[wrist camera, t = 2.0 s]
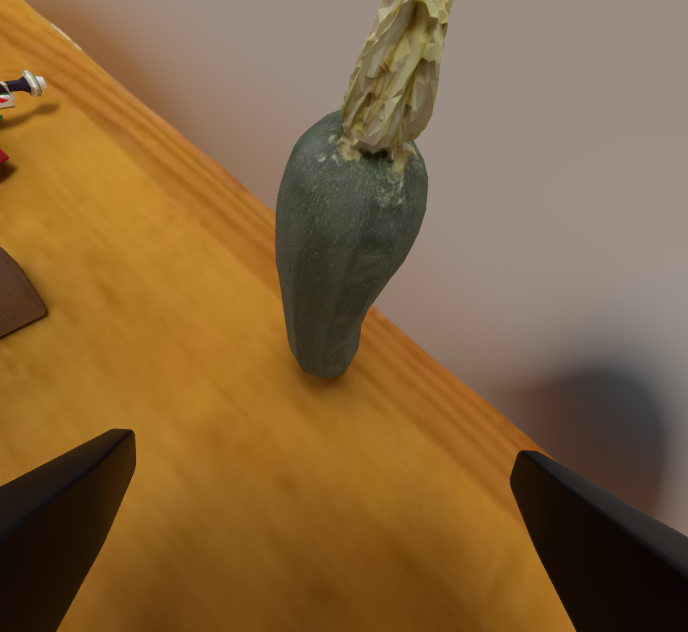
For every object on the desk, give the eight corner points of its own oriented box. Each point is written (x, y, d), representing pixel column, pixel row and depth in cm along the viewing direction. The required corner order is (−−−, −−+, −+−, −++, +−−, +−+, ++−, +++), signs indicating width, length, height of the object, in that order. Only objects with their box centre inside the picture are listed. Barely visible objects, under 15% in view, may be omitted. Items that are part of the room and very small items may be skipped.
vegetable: (318, 414, 22) (481, 22, 4) (260, 368, 23) (200, -129, 5) (361, 358, 24) (595, -67, 6) (307, 317, 25) (382, -168, 7)
